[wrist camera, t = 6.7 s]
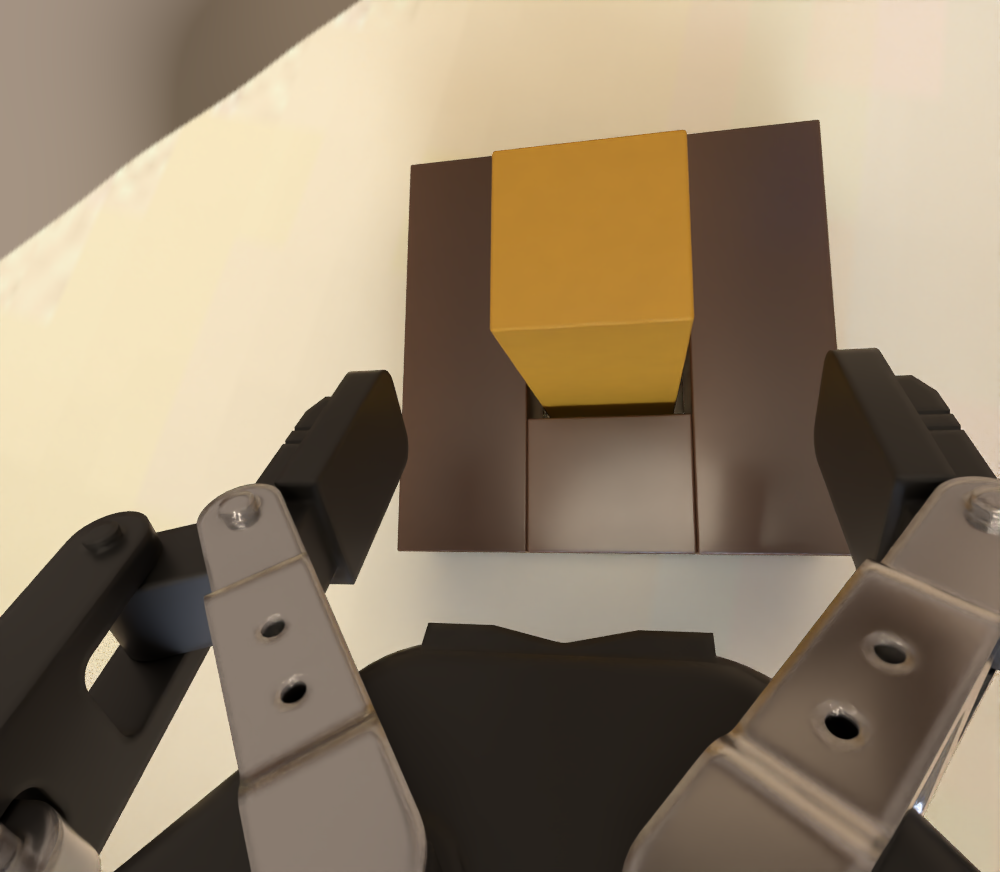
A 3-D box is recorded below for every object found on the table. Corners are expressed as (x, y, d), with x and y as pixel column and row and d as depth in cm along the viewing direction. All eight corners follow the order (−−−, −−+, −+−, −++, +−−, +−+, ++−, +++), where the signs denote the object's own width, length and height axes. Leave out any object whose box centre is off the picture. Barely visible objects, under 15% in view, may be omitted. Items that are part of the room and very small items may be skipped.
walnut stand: (431, 551, 24) (396, 551, 20) (440, 214, 26) (410, 164, 23) (820, 555, 21) (853, 555, 18) (794, 180, 23) (820, 118, 20)
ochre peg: (554, 425, 24) (488, 331, 14) (554, 316, 24) (491, 149, 14) (672, 422, 23) (694, 319, 13) (668, 309, 24) (687, 127, 13)
